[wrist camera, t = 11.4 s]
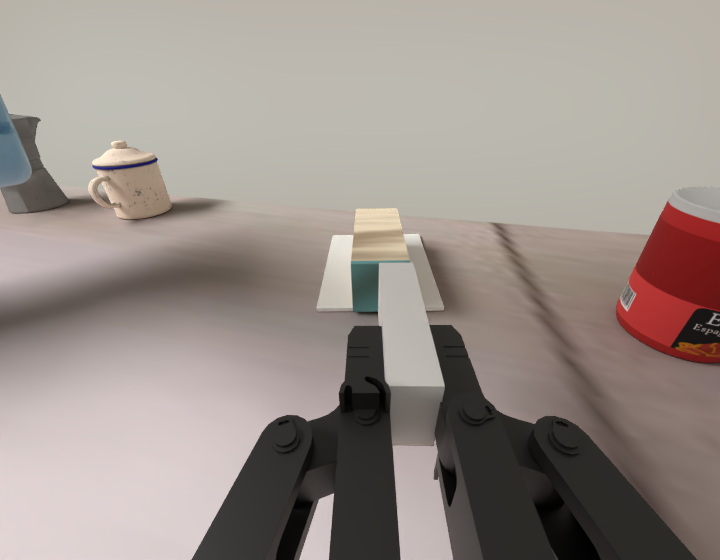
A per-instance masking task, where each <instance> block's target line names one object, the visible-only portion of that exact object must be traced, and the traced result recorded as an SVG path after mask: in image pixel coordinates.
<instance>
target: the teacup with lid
mask: <svg viewBox="0 0 720 560" xmlns="http://www.w3.org/2000/svg"><path fill="white" fill-rule="evenodd" d="M111 145H112V147H113V148H114V149H110V150H108V151H107V152H105V154H104V155H102V156H101V157H99V158H97V159H95V160H93V163H92V164H93V168H95V169H96V171H97V173H98V175H99V177H96V178H94V179H92V180H91V182H90V183H89V186H88V189H89V193H90V195H91V197H92V198H93V199H94V201H95V202H96V203H98V204H99V205H101V206H103V207H105V208H113V209H114V211H115V213H116V215H117V216H118V217H119V218H122V219H142V218H148V217H153V216H156V215H160V214H162V213H165V212H167V211H168V210H170V209H171V207H172V204H171V201H170V198H169V196H168V193H167V190H166V187H165V184H164V181H163V179H162V176H161V173H160V170H159V167H158V164H157V160H158V159H157V158H156V156H155V155H154V154H152V153H146V152H143V151H140V150H138V149H136V148H132V147H127V144H126V142H125V141H114V142H112V143H111ZM101 182H102V184H103V186H104V189H105V191H106V193H107V195H108V197H109V200H110V202H111V204H108V203H107V202H105V201H104V200H103V199H102V198H101V197H100V195H99V194H98V191H97V187H98V185H99V184H100V183H101Z"/></svg>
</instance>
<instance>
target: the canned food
mask: <svg viewBox="0 0 720 560" xmlns="http://www.w3.org/2000/svg"><path fill="white" fill-rule="evenodd" d="M616 316H617V319H618V321H619V323H620V324H621V325H622V327H623V328H624V329H625V330H626V331H627V332H628V333H630V334H631V335H632V336H633V337H635V338H636V339H638V340H639V341H641V342H642V343H644V344H646V345H648V346H650V347H652V348H654V349H656V350H658V351H660V352H663V353H666V354H668V355H671V356H674V357H677V358H681V359H685V360H689V361H695V362H704V363H715V362H720V188H717V187H691V188H683V189H679V190H676V191H674V192H673V194H672V196H671V197H670V198H669V200H668V202H667V204H666V206H665V208H664V210H663V211H662V213H661V215H660V217H659V219H658V221H657V223H656V225H655V227H654V229H653V231H652V233H651V235H650V237H649V239H648V241H647V243H646V245H645V247H644V249H643V251H642V253H641V256H640V258H639V260H638V262H637V264H636V266H635V268H634V270H633V272H632V274H631V276H630V278H629V280H628V282H627V284H626V286H625V288H624V290H623V292H622V294H621V296H620V298H619V300H618V303H617V307H616Z"/></svg>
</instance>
